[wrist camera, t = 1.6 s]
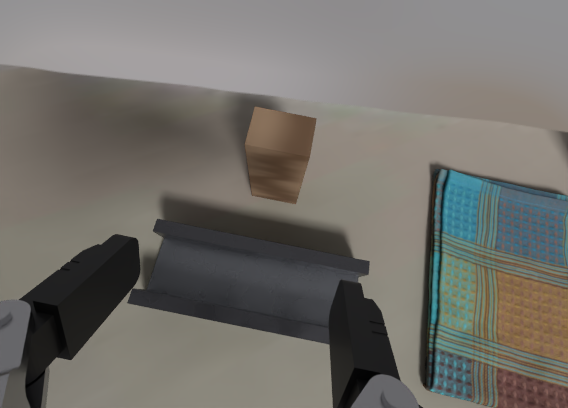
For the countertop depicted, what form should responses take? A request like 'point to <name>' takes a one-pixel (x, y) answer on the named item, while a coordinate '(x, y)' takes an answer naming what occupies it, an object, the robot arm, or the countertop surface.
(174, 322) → the countertop surface
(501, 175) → the countertop surface
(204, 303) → the floor track
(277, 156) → the tan wooden pillar block
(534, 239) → the dish towel
